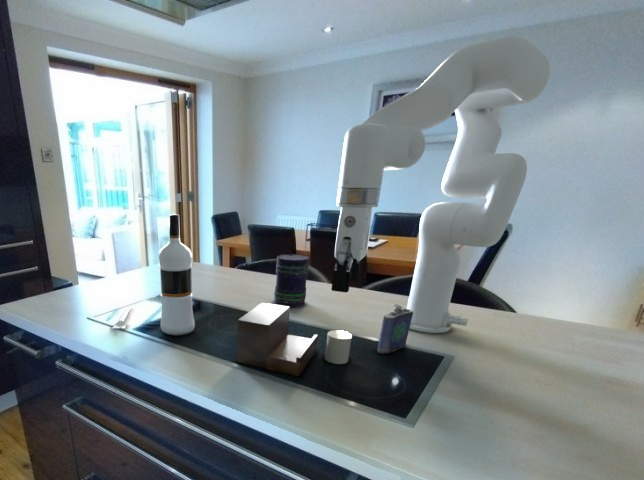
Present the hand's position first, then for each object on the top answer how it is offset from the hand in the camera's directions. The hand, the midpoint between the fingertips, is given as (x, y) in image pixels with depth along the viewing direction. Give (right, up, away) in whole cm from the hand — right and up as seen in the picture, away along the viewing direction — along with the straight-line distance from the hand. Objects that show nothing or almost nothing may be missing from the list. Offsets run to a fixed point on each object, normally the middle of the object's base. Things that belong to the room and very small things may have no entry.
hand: (344, 285), depth 80 cm
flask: (+15, -14, +11) cm, 23 cm away
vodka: (-36, -9, +25) cm, 44 cm away
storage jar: (-1, 0, +45) cm, 45 cm away
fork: (-52, -6, +32) cm, 61 cm away
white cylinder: (+1, -16, +7) cm, 17 cm away
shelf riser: (-12, -15, +8) cm, 21 cm away
